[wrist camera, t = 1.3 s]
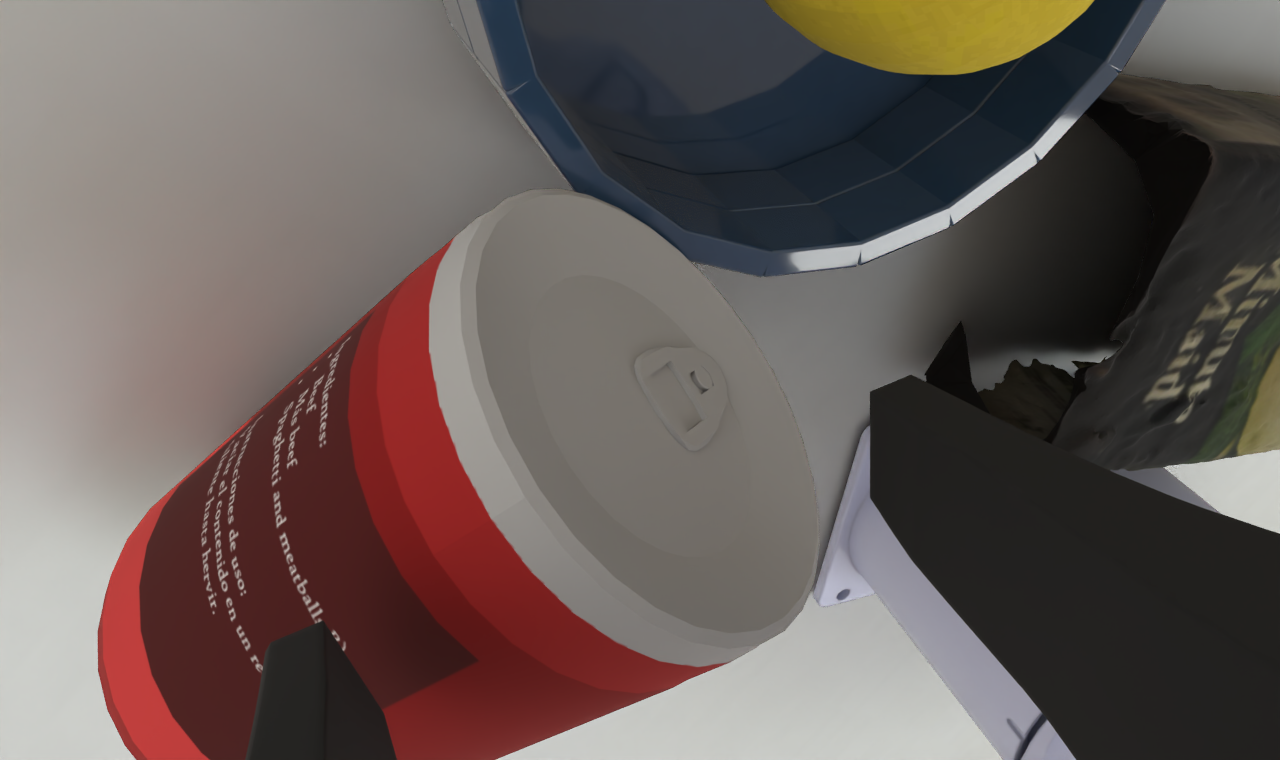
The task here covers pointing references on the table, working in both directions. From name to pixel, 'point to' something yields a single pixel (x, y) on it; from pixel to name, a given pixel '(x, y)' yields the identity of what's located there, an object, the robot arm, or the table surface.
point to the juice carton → (1171, 295)
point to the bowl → (779, 122)
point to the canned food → (482, 504)
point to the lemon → (929, 30)
